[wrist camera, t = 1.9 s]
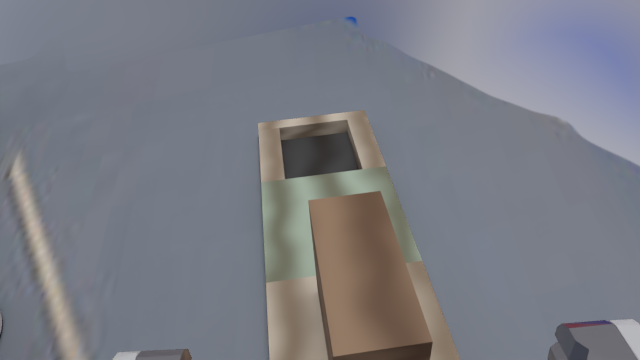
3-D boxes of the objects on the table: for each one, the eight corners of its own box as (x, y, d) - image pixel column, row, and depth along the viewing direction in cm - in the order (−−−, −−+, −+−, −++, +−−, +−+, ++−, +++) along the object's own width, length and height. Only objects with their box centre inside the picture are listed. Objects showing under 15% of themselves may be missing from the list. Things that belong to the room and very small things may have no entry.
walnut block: (340, 442, 36) (333, 356, 28) (317, 291, 47) (308, 200, 39) (419, 429, 36) (432, 341, 28) (378, 283, 47) (380, 190, 39)
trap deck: (295, 802, 25) (290, 805, 23) (260, 136, 72) (258, 123, 71) (592, 742, 26) (607, 741, 24) (364, 124, 73) (364, 110, 72)
